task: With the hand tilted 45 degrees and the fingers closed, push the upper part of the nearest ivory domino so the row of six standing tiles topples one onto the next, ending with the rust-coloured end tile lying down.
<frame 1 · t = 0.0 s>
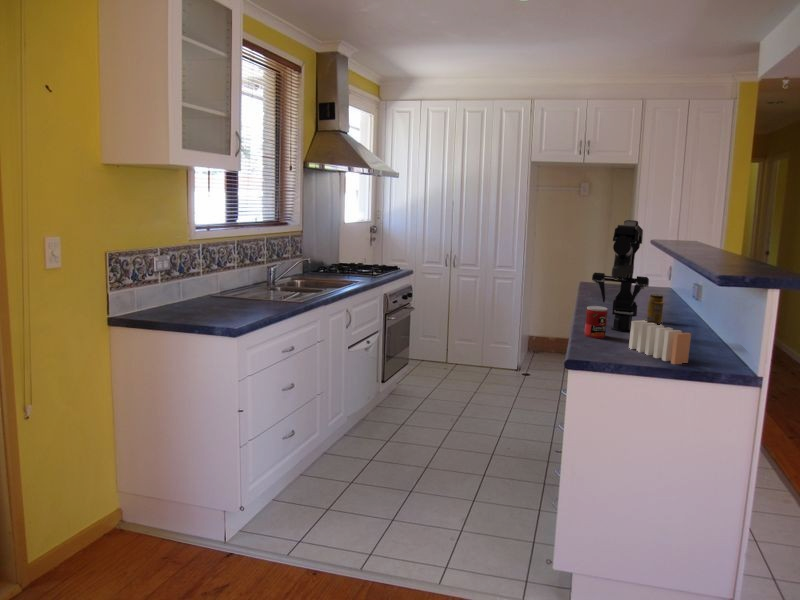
hand: (617, 303, 232), 15 cm above the countertop, tool pointing down, fingers open, 9 cm apart
domino 2: (644, 351, 229), on the countertop
domino 5: (670, 360, 218), on the countertop
canned food: (594, 336, 252), on the countertop
condiment: (653, 323, 286), on the countertop
domino 4: (661, 357, 222), on the countertop
domino 3: (652, 354, 226), on the countertop
domino 1: (636, 348, 233), on the countertop
domino 6: (679, 363, 215), on the countertop
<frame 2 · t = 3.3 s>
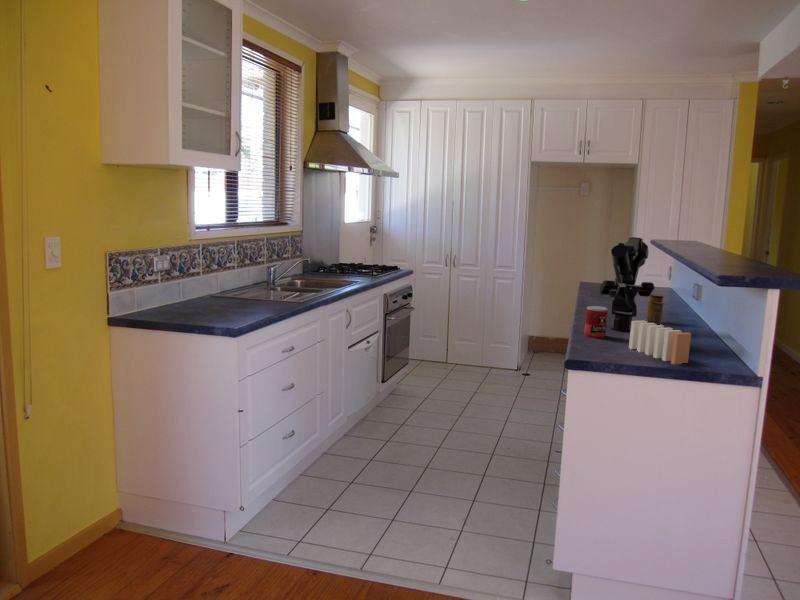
hand: (631, 307, 239), 13 cm above the countertop, tool tilted 45°, fingers closed
nothing on the countertop moved.
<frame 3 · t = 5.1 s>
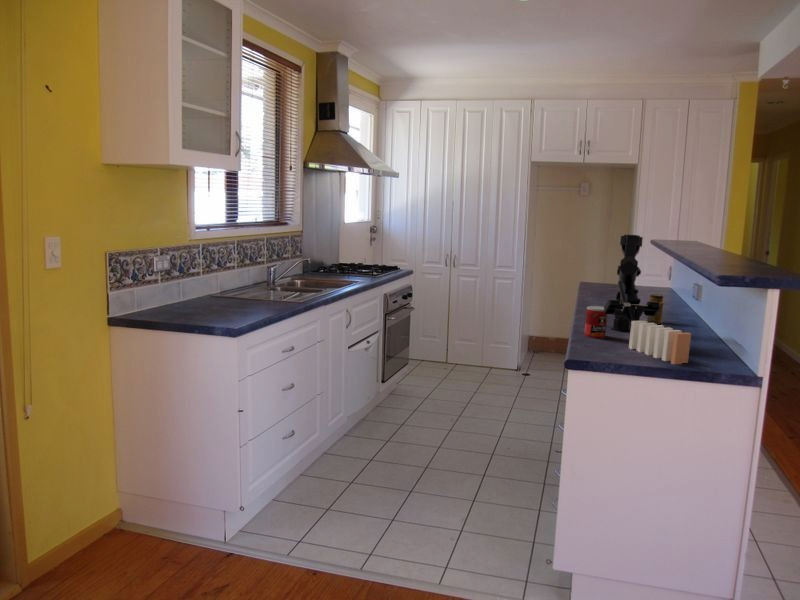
hand: (636, 327, 233), 8 cm above the countertop, tool tilted 45°, fingers closed
domino 1: (636, 348, 233), on the countertop, touching gripper
everything else where it was.
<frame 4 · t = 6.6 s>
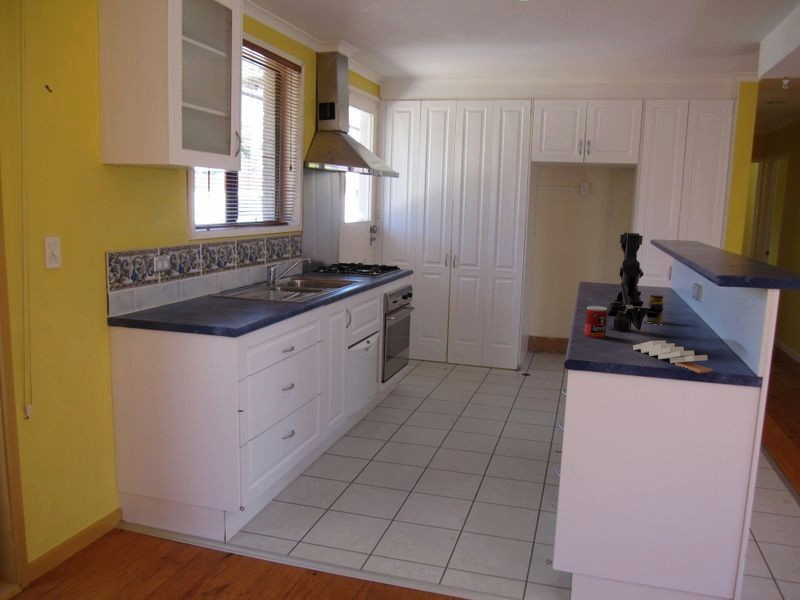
hand: (639, 329, 231), 7 cm above the countertop, tool tilted 45°, fingers closed
domino 2: (647, 350, 228), point 1 cm above the countertop, tilted 68°, touching domino 1, domino 3
domino 5: (676, 360, 216), point 1 cm above the countertop, tilted 72°, touching domino 4, domino 6
domino 4: (665, 356, 220), point 1 cm above the countertop, tilted 70°, touching domino 3, domino 5
domino 3: (655, 353, 224), point 1 cm above the countertop, tilted 68°, touching domino 2, domino 4
domino 1: (639, 347, 232), point 1 cm above the countertop, tilted 68°, touching domino 2
domino 6: (681, 364, 214), on the countertop, tilted 90°, touching domino 5
everything else where it was.
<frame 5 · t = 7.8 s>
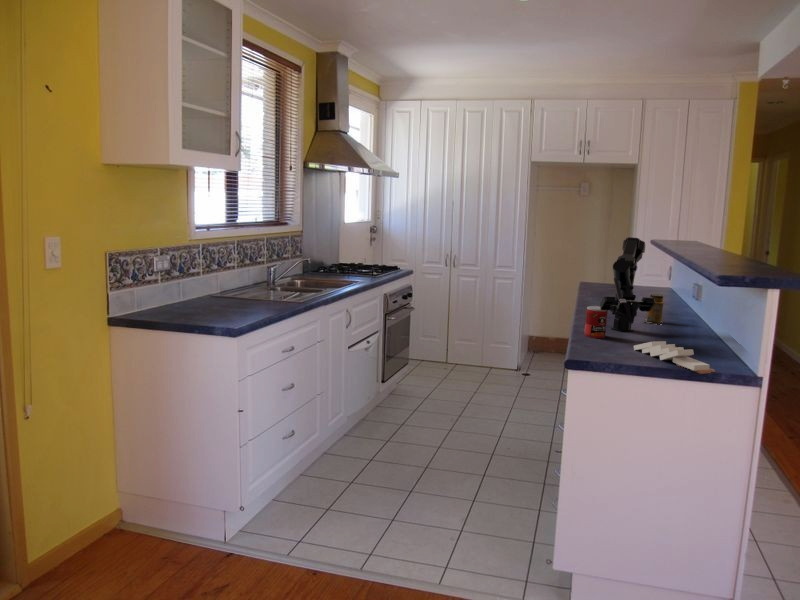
hand: (631, 323, 237), 8 cm above the countertop, tool tilted 45°, fingers closed
domino 2: (649, 350, 227), point 1 cm above the countertop, tilted 68°
domino 5: (680, 359, 213), point 2 cm above the countertop, tilted 90°, touching domino 4, domino 6
domino 4: (667, 357, 218), point 1 cm above the countertop, tilted 65°, touching domino 3, domino 5
domino 3: (657, 354, 223), point 1 cm above the countertop, tilted 68°, touching domino 4
domino 1: (640, 347, 232), point 1 cm above the countertop, tilted 69°
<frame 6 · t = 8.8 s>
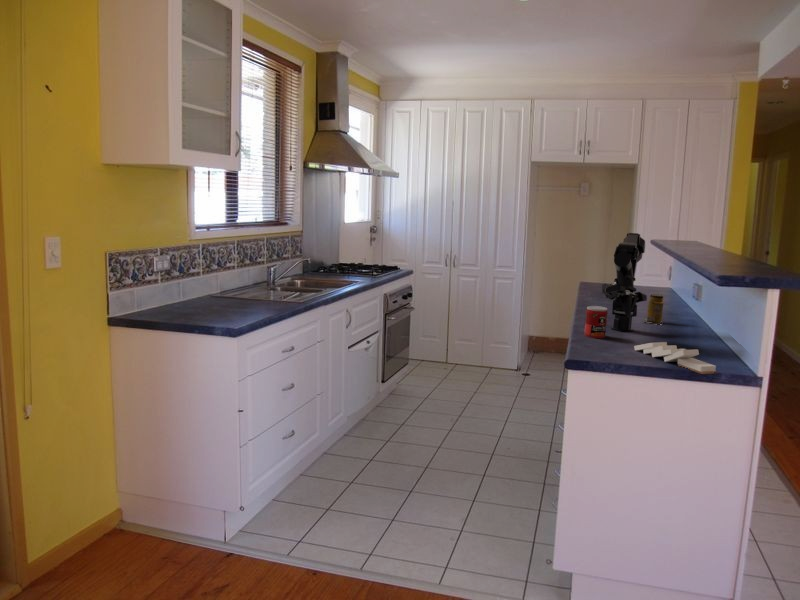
hand: (628, 316, 243), 10 cm above the countertop, tool tilted 25°, fingers closed
domino 2: (650, 351, 227), point 1 cm above the countertop, tilted 70°, touching domino 1, domino 3
domino 5: (684, 360, 212), point 2 cm above the countertop, tilted 90°, touching domino 4, domino 6
domino 4: (671, 359, 217), point 1 cm above the countertop, tilted 62°, touching domino 3, domino 5
domino 3: (659, 354, 222), point 1 cm above the countertop, tilted 70°, touching domino 2, domino 4
domino 1: (641, 348, 231), point 1 cm above the countertop, tilted 70°, touching domino 2
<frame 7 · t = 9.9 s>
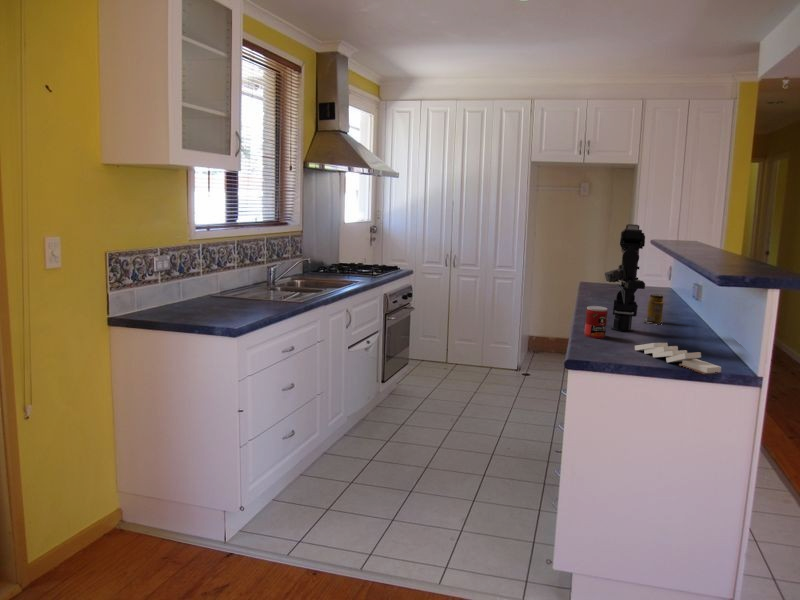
hand: (625, 304, 248), 13 cm above the countertop, tool pointing down, fingers closed
domino 2: (651, 351, 227), point 1 cm above the countertop, tilted 71°, touching domino 1
domino 5: (689, 361, 211), point 2 cm above the countertop, tilted 90°, touching domino 4, domino 6
domino 4: (673, 359, 216), point 1 cm above the countertop, tilted 67°, touching domino 3, domino 5
domino 3: (659, 354, 222), point 1 cm above the countertop, tilted 72°, touching domino 4
domino 1: (641, 347, 231), point 1 cm above the countertop, tilted 71°, touching domino 2
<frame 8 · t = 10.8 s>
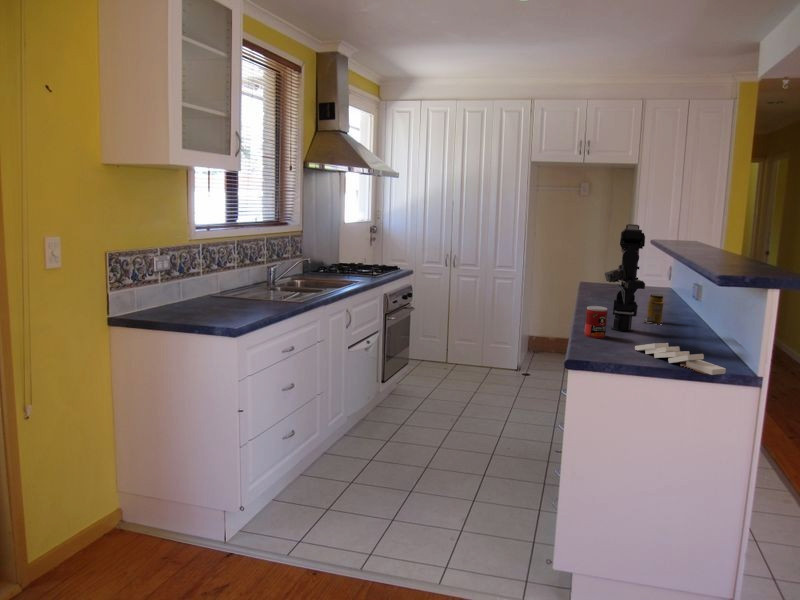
hand: (625, 304, 248), 13 cm above the countertop, tool pointing down, fingers closed
domino 2: (651, 351, 227), point 1 cm above the countertop, tilted 71°, touching domino 1, domino 3
domino 5: (693, 362, 210), point 2 cm above the countertop, tilted 91°, touching domino 6
domino 4: (676, 360, 215), point 1 cm above the countertop, tilted 69°
domino 3: (661, 355, 222), point 1 cm above the countertop, tilted 73°, touching domino 2
at the end: domino 6 tilted 89°; domino 1 tilted 71° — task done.
